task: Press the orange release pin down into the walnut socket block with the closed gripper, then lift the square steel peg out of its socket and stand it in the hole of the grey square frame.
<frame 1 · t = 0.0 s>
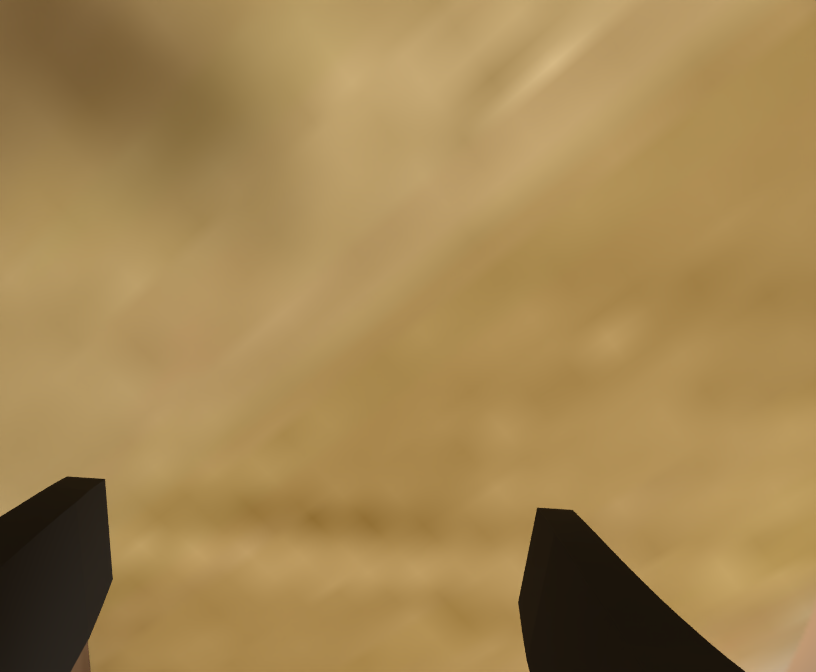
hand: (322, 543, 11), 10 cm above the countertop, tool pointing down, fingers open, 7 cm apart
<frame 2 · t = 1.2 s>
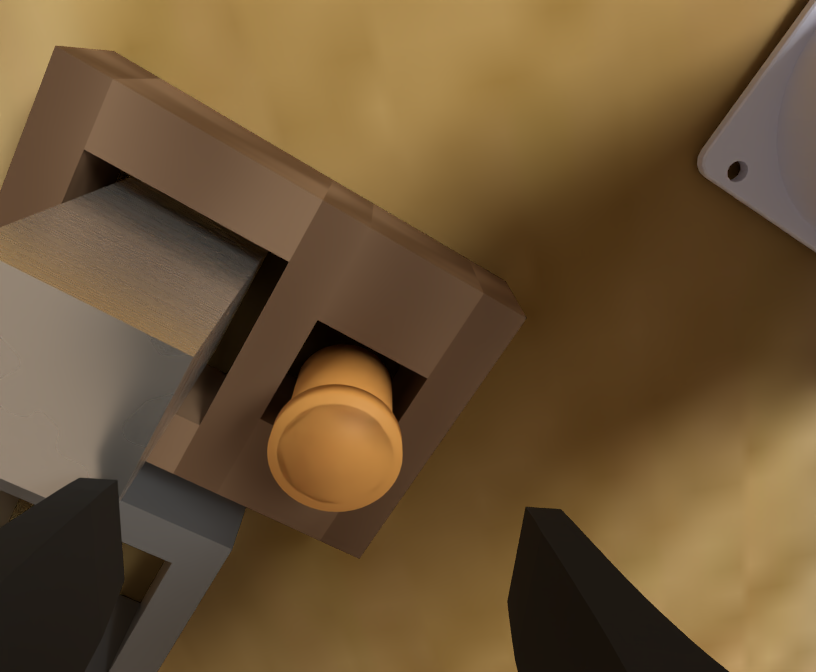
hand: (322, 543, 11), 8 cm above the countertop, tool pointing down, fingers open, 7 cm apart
steel peg: (184, 263, 18), resting in socket block
grey square frame: (98, 521, 21), on the countertop
release pin: (340, 418, 15), point 4 cm above the countertop, slide at 0.0 cm
socket block: (254, 301, 18), on the countertop
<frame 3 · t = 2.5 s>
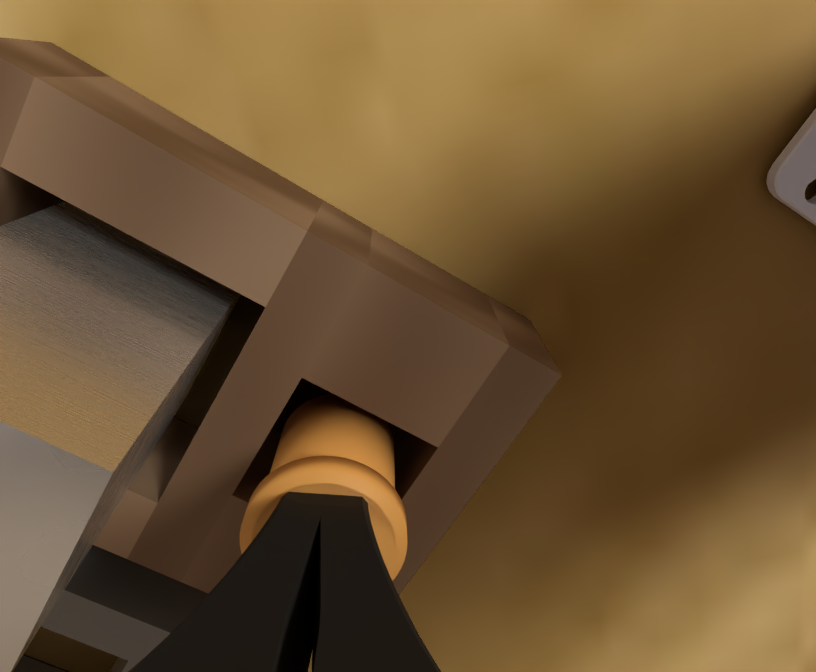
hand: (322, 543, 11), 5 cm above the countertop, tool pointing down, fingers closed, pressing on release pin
steel peg: (144, 299, 15), resting in socket block
grey square frame: (50, 595, 18), on the countertop
release pin: (331, 488, 13), point 4 cm above the countertop, slide at 0.4 cm, touching gripper
socket block: (229, 343, 15), on the countertop
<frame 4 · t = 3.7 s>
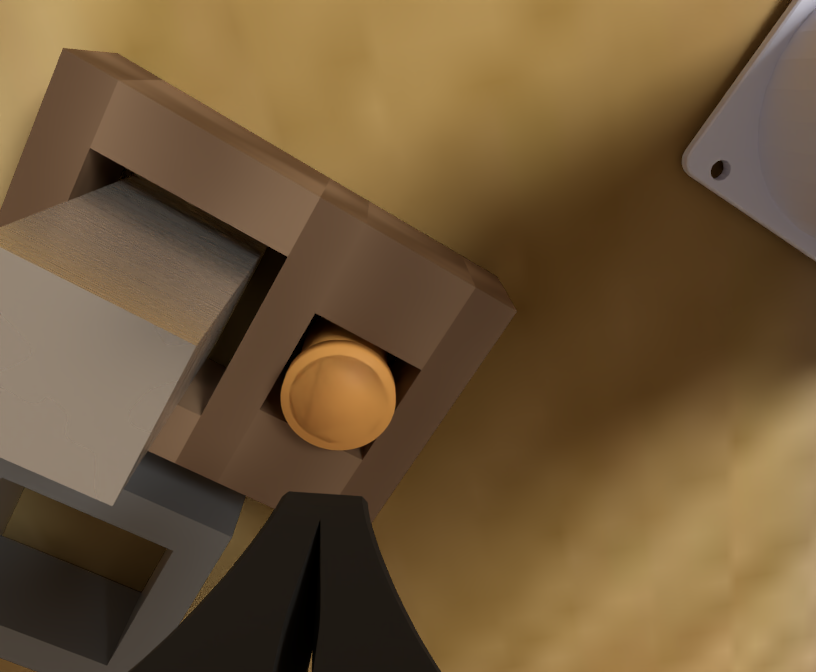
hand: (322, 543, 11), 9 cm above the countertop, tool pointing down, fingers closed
steel peg: (185, 259, 18), resting in socket block
grey square frame: (100, 512, 21), on the countertop
release pin: (342, 373, 18), point 2 cm above the countertop, slide at 2.0 cm
socket block: (253, 296, 19), on the countertop
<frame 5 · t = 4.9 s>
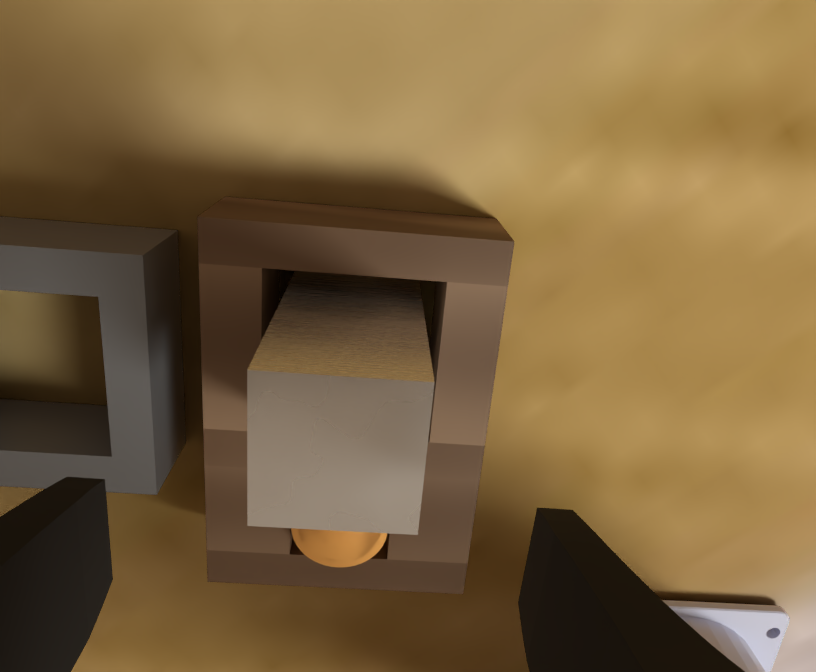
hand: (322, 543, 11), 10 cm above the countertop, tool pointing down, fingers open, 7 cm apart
steel peg: (355, 321, 21), resting in socket block
grey square frame: (65, 334, 21), on the countertop
release pin: (343, 496, 21), point 2 cm above the countertop, slide at 2.0 cm
socket block: (351, 382, 22), on the countertop
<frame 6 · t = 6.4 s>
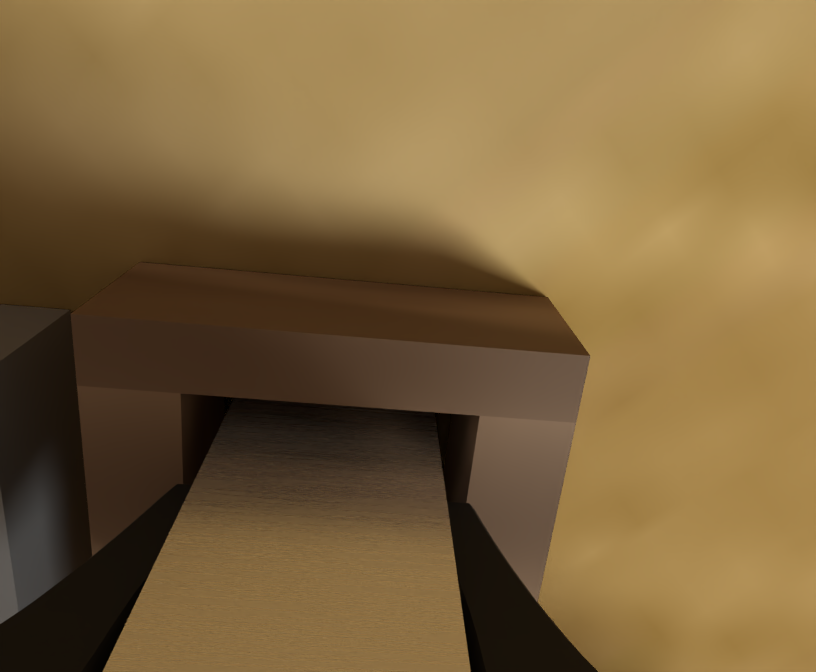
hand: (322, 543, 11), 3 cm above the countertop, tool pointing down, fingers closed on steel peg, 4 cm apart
steel peg: (336, 439, 14), resting in socket block, touching gripper
socket block: (331, 520, 15), on the countertop
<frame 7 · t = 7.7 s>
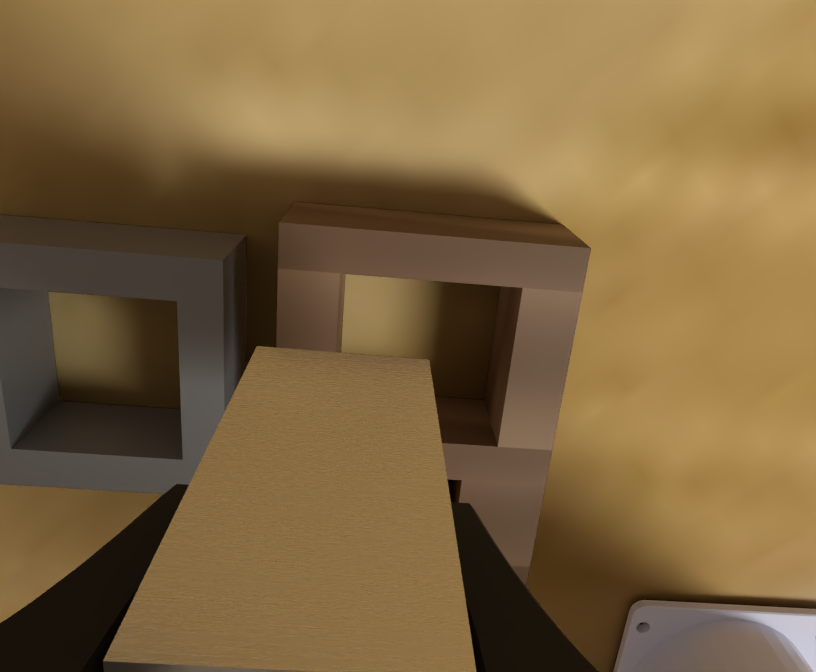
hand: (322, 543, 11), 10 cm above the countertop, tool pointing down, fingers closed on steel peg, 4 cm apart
steel peg: (338, 428, 15), point 7 cm above the countertop, touching gripper
grey square frame: (130, 338, 21), on the countertop
socket block: (412, 386, 22), on the countertop
when the fingers open (5 cm above the countertop, at t = 9.6 s): steel peg stays where it is, resting in grey square frame.
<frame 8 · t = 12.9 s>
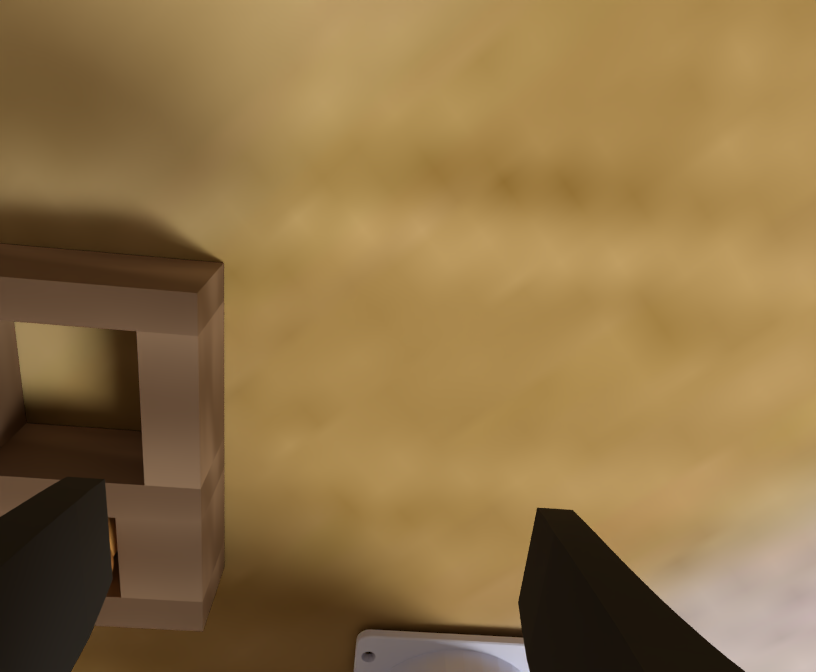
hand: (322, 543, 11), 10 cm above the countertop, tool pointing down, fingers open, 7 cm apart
release pin: (81, 534, 21), point 2 cm above the countertop, slide at 2.0 cm
socket block: (100, 420, 22), on the countertop
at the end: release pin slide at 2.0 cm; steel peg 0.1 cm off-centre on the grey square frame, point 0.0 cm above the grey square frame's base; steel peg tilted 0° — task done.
